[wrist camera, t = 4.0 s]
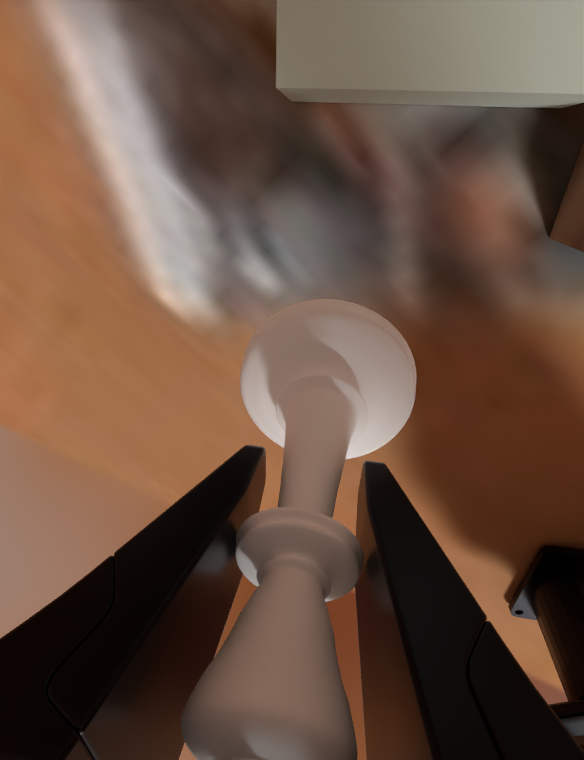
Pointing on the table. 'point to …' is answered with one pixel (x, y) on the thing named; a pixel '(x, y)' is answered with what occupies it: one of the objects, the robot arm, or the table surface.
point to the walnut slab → (572, 209)
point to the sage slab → (432, 52)
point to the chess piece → (301, 533)
